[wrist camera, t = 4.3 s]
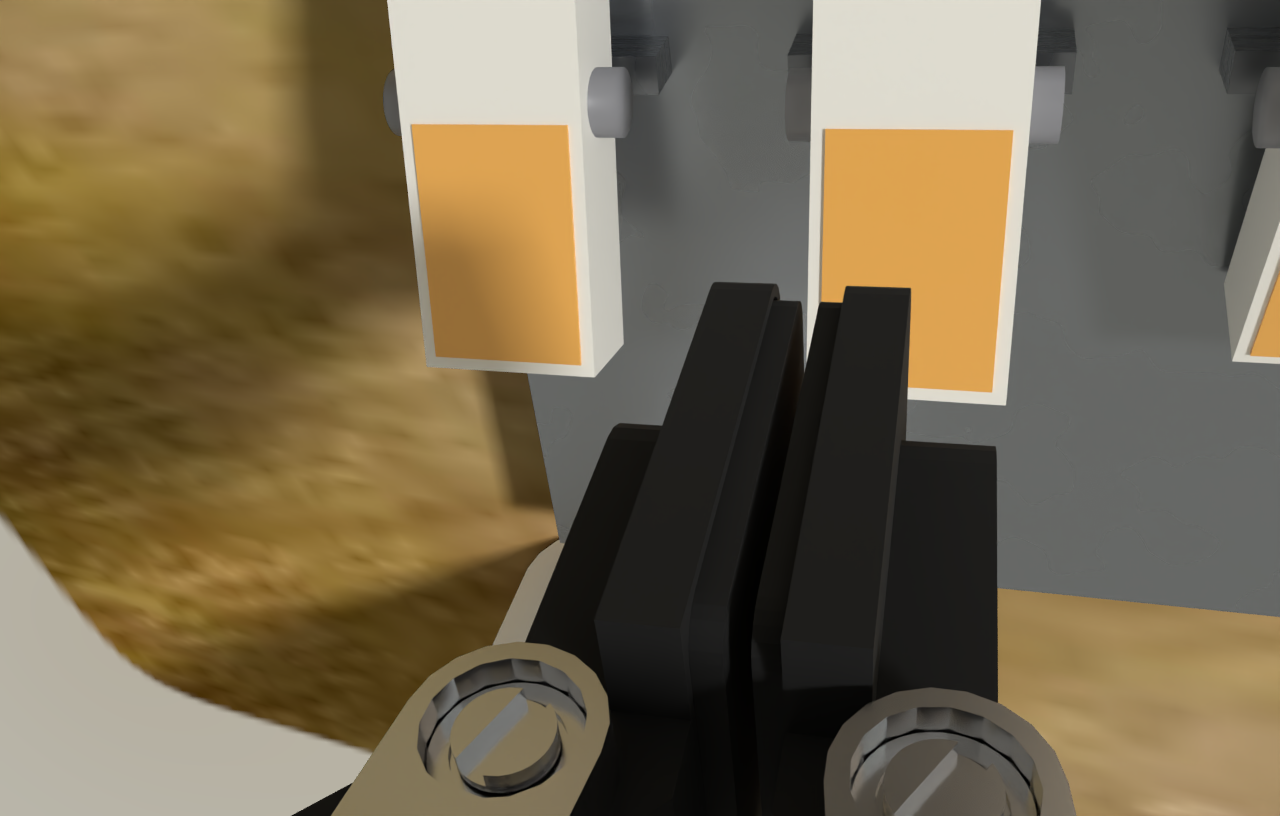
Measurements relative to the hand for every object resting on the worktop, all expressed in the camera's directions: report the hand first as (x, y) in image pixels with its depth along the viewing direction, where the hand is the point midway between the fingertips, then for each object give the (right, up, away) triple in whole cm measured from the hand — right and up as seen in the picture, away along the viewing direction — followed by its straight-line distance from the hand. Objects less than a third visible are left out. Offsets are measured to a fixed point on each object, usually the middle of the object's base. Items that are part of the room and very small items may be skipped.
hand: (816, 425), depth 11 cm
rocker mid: (+2, +4, +6) cm, 7 cm away
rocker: (-4, +5, +7) cm, 9 cm away
